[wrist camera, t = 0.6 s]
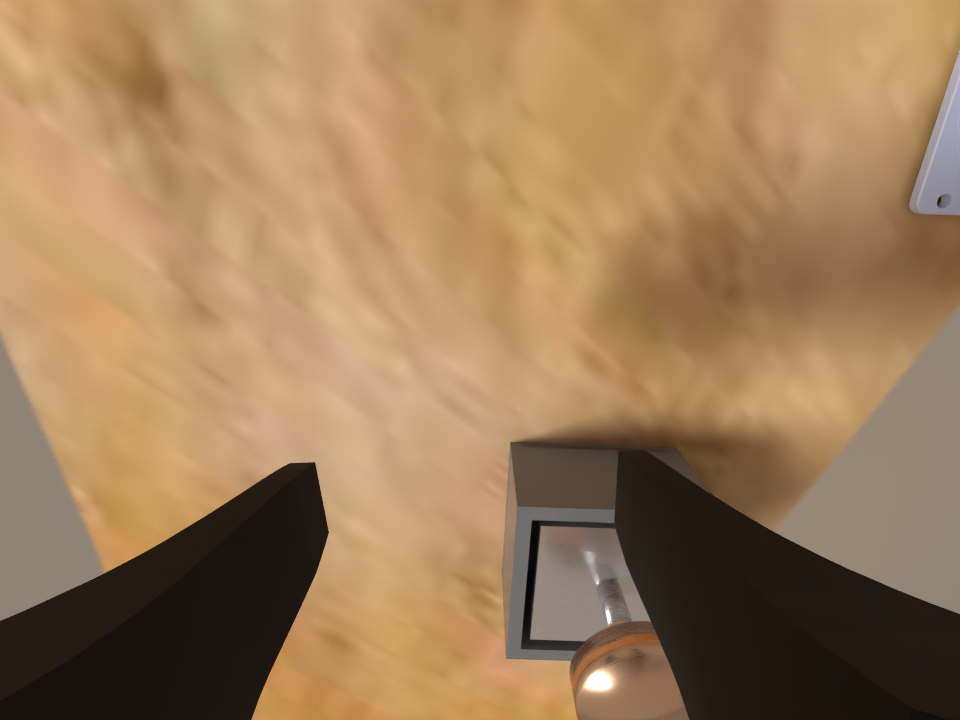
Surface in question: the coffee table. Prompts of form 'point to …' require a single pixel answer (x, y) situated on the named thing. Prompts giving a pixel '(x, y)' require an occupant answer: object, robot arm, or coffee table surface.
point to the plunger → (600, 625)
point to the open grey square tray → (556, 497)
